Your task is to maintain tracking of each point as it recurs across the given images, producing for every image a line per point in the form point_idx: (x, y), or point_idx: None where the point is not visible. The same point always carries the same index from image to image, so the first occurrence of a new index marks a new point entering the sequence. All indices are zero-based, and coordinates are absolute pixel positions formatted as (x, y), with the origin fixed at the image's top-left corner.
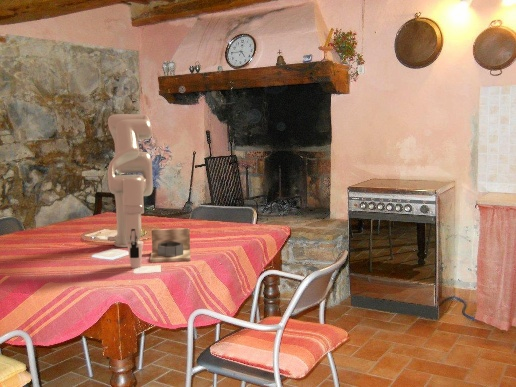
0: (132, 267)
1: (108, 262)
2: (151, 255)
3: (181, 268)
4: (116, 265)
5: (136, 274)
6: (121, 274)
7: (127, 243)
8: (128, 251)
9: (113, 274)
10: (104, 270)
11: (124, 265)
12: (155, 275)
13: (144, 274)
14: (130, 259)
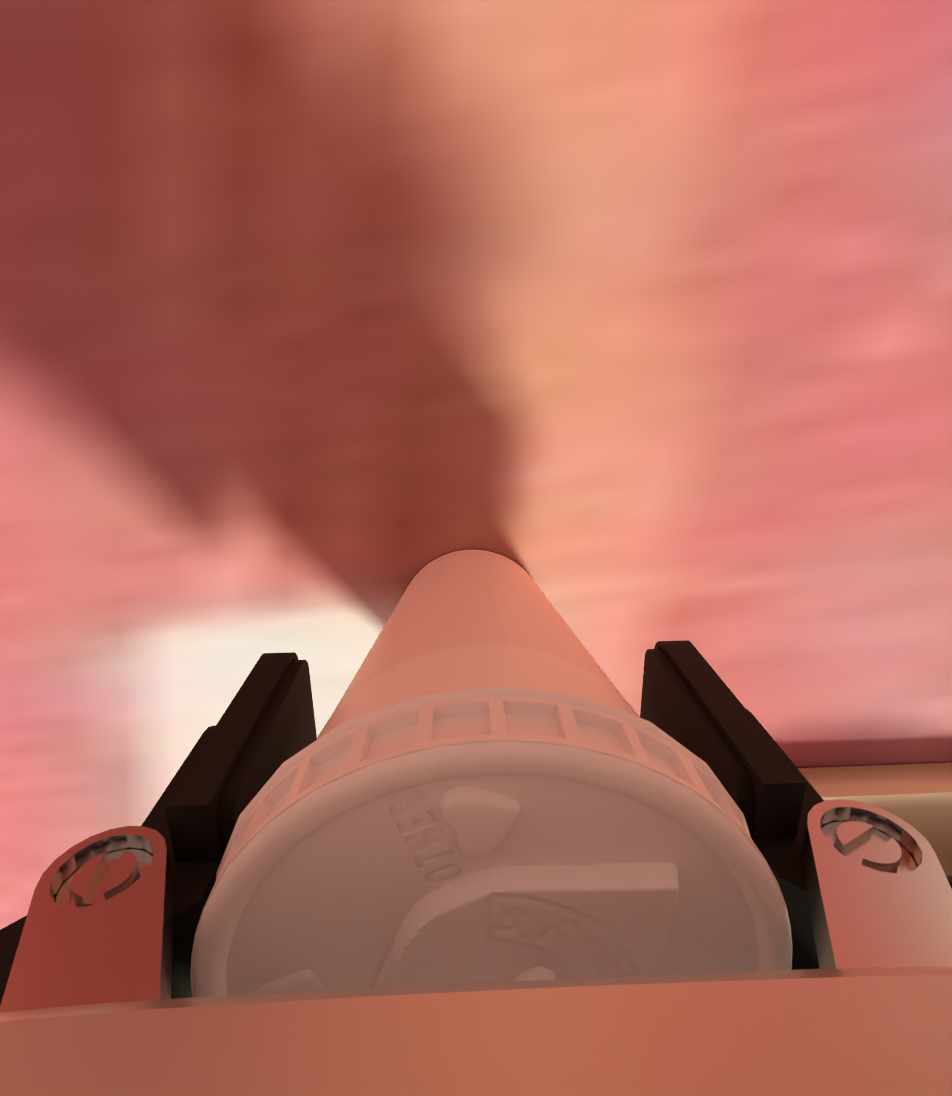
0: (412, 579)
1: (886, 85)
2: (933, 798)
3: None
4: (620, 289)
5: (57, 670)
6: (43, 458)
7: (326, 794)
8: (427, 642)
9: (34, 324)
10: (299, 99)
11: (591, 432)
12: (25, 885)
13: (63, 766)
14: (405, 605)
